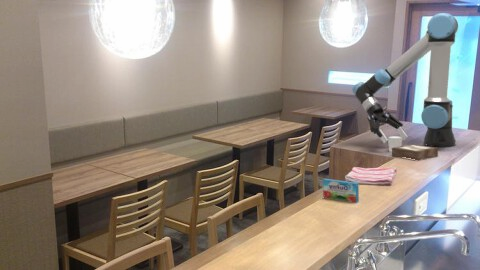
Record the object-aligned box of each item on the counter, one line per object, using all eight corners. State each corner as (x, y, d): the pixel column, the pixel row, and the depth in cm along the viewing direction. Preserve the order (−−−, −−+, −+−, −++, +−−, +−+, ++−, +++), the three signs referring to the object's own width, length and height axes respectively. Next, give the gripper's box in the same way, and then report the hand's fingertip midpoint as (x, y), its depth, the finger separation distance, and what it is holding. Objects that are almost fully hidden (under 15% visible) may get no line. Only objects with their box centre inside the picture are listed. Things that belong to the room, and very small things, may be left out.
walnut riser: (412, 152, 221) (412, 144, 221) (437, 156, 209) (437, 147, 209) (391, 156, 215) (391, 147, 214) (416, 160, 202) (416, 151, 202)
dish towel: (343, 185, 170) (343, 175, 170) (354, 171, 191) (354, 162, 191) (391, 187, 164) (391, 177, 163) (397, 172, 185) (397, 164, 184)
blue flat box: (323, 197, 154) (322, 179, 153) (325, 196, 155) (325, 178, 154) (356, 203, 146) (356, 183, 145) (358, 201, 147) (358, 182, 146)
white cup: (399, 152, 222) (399, 138, 221) (385, 151, 226) (385, 137, 225) (404, 150, 227) (404, 136, 226) (390, 149, 232) (390, 135, 231)
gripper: (386, 110, 245) (409, 141, 234) (351, 114, 233) (373, 147, 222) (394, 101, 239) (418, 132, 229) (358, 104, 227) (381, 138, 217)
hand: (396, 140), depth 225 cm, fingers open, 13 cm apart
